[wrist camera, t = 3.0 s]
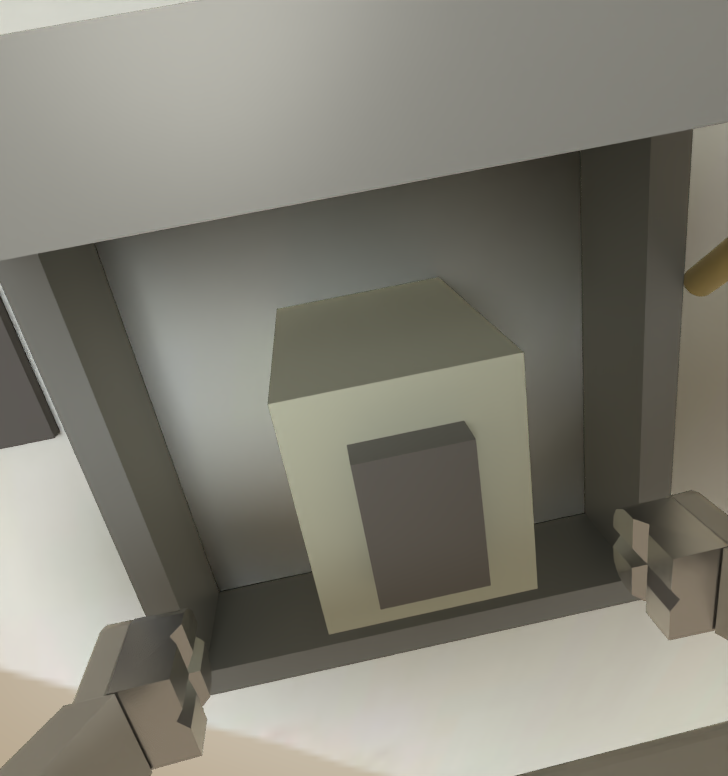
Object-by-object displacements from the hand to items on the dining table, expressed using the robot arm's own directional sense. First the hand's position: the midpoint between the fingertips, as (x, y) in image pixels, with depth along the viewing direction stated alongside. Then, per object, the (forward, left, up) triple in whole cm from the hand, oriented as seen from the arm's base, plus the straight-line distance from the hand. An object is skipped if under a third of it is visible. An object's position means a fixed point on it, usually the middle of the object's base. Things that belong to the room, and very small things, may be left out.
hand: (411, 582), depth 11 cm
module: (-1, -1, -9) cm, 9 cm away
